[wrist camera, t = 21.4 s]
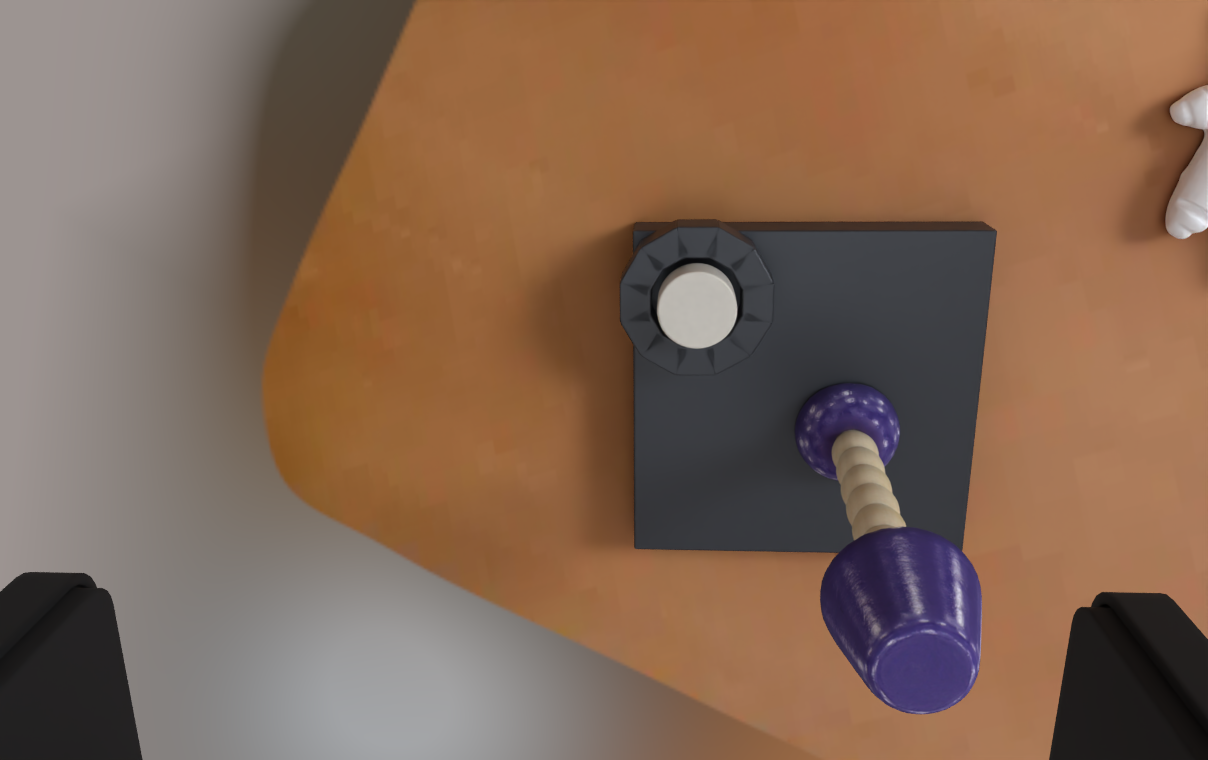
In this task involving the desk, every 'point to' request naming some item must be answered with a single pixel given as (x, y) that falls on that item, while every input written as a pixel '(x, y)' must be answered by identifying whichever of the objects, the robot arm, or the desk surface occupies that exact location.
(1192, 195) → the white flat figure
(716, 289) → the button
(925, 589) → the toy lamp
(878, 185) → the desk surface
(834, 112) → the desk surface
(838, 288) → the scale
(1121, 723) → the robot arm
